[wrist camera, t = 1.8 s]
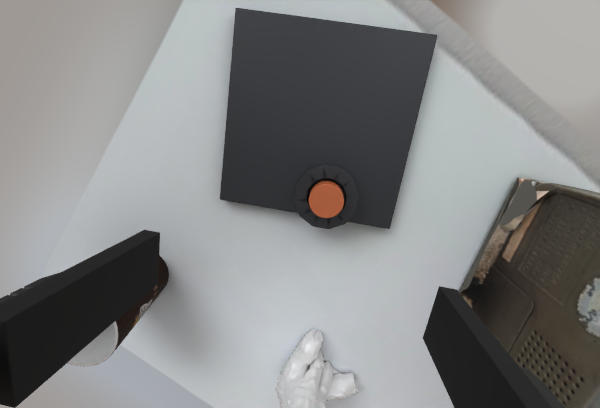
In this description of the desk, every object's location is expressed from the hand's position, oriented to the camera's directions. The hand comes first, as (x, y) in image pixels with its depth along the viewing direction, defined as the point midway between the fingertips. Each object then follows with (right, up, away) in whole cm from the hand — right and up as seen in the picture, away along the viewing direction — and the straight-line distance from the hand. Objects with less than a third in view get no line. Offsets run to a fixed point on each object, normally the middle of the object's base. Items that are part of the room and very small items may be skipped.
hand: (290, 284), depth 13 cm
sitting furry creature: (+2, -17, +22) cm, 28 cm away
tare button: (+3, +4, +14) cm, 15 cm away
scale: (+2, +12, +15) cm, 19 cm away
